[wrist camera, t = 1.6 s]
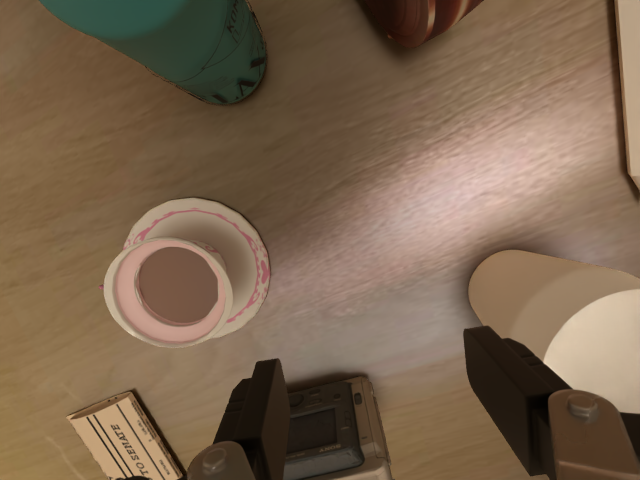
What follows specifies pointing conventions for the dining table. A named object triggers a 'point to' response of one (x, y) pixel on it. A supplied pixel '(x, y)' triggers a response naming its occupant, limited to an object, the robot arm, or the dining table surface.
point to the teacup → (187, 274)
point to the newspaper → (124, 440)
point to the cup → (566, 319)
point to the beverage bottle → (179, 40)
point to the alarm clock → (418, 17)
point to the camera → (336, 434)
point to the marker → (630, 79)
